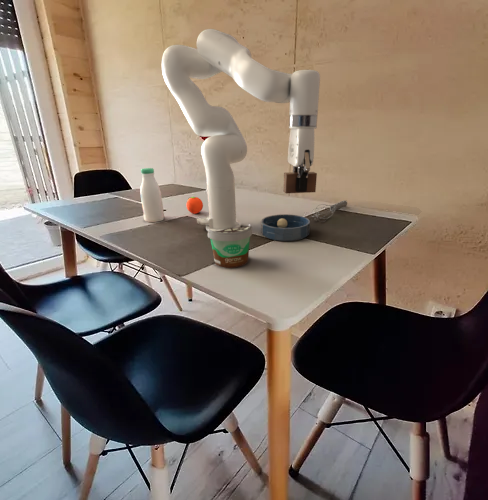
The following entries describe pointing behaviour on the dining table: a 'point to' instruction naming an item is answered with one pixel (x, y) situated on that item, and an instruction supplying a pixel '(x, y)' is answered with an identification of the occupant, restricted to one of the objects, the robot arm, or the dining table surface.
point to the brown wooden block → (291, 182)
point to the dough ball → (282, 223)
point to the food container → (230, 246)
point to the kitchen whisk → (332, 208)
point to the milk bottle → (151, 197)
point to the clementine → (194, 205)
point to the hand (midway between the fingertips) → (299, 189)
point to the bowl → (294, 230)
